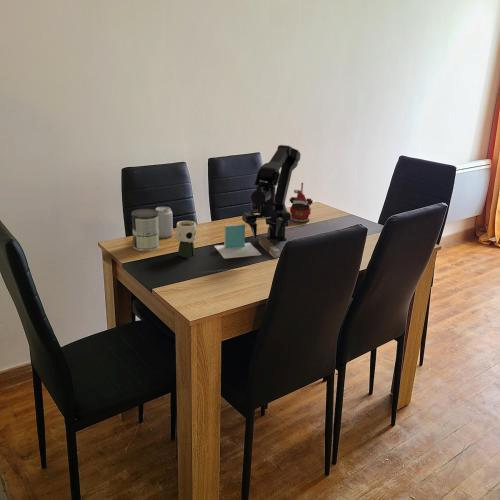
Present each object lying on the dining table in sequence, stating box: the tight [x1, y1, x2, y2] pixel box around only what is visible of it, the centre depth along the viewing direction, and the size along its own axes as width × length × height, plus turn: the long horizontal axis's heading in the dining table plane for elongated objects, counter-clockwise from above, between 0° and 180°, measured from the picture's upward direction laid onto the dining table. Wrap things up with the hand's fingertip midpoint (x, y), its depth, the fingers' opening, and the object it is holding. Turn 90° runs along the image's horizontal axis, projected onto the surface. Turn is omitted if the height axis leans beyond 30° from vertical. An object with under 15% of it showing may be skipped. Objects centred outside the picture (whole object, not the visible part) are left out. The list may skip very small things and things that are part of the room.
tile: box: [223, 223, 246, 248], centre depth 199 cm, size 8×2×9 cm, turn 110°
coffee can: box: [130, 208, 160, 252], centre depth 198 cm, size 10×10×14 cm
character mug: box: [175, 220, 197, 258], centre depth 190 cm, size 11×7×13 cm, turn 145°
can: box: [155, 206, 174, 239], centre depth 210 cm, size 8×8×12 cm
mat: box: [214, 242, 263, 260], centre depth 197 cm, size 15×14×1 cm
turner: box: [258, 236, 280, 259], centre depth 198 cm, size 2×16×4 cm, turn 20°
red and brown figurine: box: [289, 182, 313, 223], centre depth 237 cm, size 11×9×18 cm
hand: (265, 237), depth 201 cm, fingers open, 9 cm apart
